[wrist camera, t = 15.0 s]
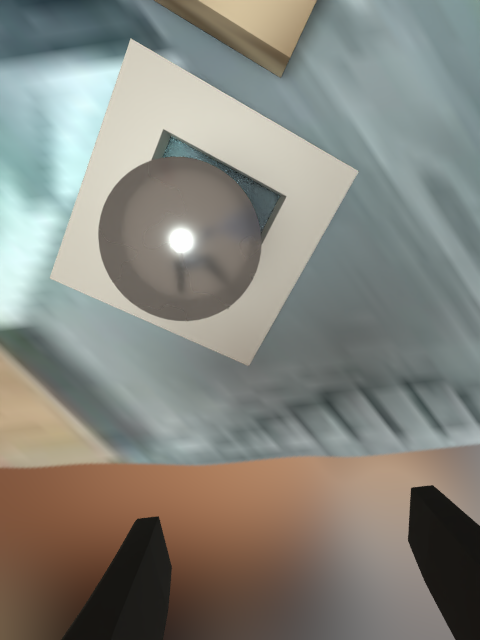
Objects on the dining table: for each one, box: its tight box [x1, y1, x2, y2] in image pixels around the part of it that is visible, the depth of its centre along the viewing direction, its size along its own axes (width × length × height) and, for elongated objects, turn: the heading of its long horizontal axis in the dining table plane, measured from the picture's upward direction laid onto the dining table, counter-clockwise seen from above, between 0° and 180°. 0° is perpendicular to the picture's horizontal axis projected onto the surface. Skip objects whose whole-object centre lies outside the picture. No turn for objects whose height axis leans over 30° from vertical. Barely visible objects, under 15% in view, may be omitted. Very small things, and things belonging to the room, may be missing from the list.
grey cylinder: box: [98, 157, 261, 321], centre depth 13 cm, size 4×4×9 cm
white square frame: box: [50, 39, 359, 366], centre depth 17 cm, size 10×10×2 cm
